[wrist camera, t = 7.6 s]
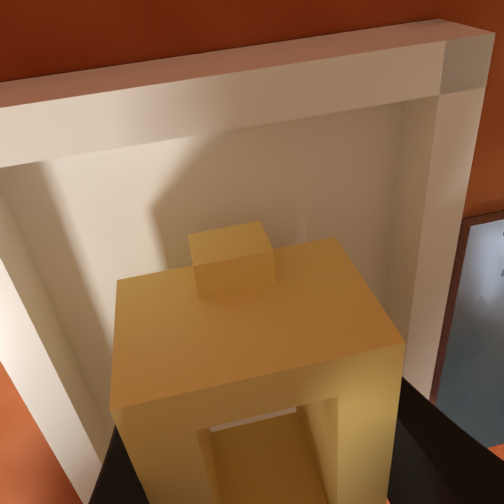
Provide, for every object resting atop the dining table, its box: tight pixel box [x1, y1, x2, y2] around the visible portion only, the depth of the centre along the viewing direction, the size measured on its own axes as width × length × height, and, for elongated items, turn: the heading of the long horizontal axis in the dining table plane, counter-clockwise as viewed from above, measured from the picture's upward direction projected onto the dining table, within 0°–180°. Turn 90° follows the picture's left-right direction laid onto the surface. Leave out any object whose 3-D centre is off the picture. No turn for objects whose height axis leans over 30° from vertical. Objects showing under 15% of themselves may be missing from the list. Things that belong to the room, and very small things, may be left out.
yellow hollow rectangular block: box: [109, 221, 406, 504], centre depth 11 cm, size 9×5×4 cm, turn 5°
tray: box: [0, 19, 496, 504], centre depth 13 cm, size 15×11×2 cm
